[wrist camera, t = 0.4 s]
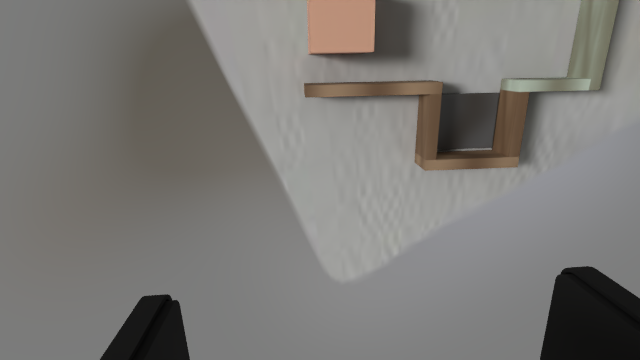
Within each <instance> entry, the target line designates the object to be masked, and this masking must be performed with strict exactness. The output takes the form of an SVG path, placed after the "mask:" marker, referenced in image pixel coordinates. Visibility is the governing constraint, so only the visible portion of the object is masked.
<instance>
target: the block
mask: <svg viewBox="0 0 640 360" xmlns="http://www.w3.org/2000/svg"><path fill="white" fill-rule="evenodd" d="M307 13H308V50H309V54H354V53H369V52H374V33H375V0H307Z"/></svg>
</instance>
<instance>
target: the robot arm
mask: <svg viewBox="0 0 640 360" xmlns="http://www.w3.org/2000/svg"><path fill="white" fill-rule="evenodd" d="M100 360H190V359H189V353H188V347H187V342H186V336H185V331H184V326H183V320H182V315H181V309H180V304H179V302H178V301H177V300H172V298H171V296H170V295H154V296H153V295H152V296H144V297H142V298H141V299H140V300H139V302H138V303H137V305H136V306H135V308H134V309H133V311H132V313H131V314H130V315H129V317H128V318H127V320H126V321H125V323H124V324H123V326H122V327H121V329H120V330H119V332H118V333H117V335H116V337H115V338H114V339H113V341H112V342H111V344H110V345H109V347H108V348H107V350H106V351H105V353H104V354H103V356H102V357H101V359H100ZM540 360H640V298H638V297H637V296H635V295H634V294H632V293H631V292H629V291H628V290H626V289H625V288H623V287H622V286H620V285H619V284H618V283H616V282H615V281H613V280H612V279H610V278H609V277H607V276H606V275H604V274H603V273H601V272H599V271H598V270H597V269H595V268H593V267H588V266H586V267H572V268H565V269H564V270H563V271H562V272H561V274H560V275H558V276H557V277H556V280H555V285H554V290H553V295H552V300H551V305H550V310H549V316H548V321H547V326H546V331H545V336H544V341H543V347H542V351H541V357H540Z"/></svg>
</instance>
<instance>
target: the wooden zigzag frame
mask: <svg viewBox="0 0 640 360" xmlns="http://www.w3.org/2000/svg"><path fill="white" fill-rule="evenodd" d="M618 3H619V0H582V1H581V6H580V11H579V16H578V22H577V27H576V32H575V37H574V42H573V48H572V53H571V58H570V63H569V69H568V74H567V77H562V78H519V79H502V82H501V89H500V97H499V93H470V94H442V86H443V82H438V81H387V82H343V83H304V93H305V97H338V96H378V95H418V94H419V105H418V120H417V135H416V150H415V163H416V164H418V165H419V166H420V167H421V168H422V169H424V170H425V171H426V170H454V169H481V168H508V167H518V161H519V155H520V148H521V142H522V136H523V130H524V124H525V117H526V111H527V105H528V99H529V93H530V92H538V91H578V90H599V89H600V84H601V80H602V75H603V71H604V66H605V62H606V57H607V53H608V48H609V44H610V39H611V35H612V30H613V25H614V21H615V16H616V12H617V7H618ZM498 98H499V104H498ZM497 105H498V111H497ZM496 112H497V119H496ZM495 120H496V126H495ZM494 127H495V133H494ZM493 135H494V141H493ZM492 142H493V148H492ZM465 148H492V150H476V151H447V152H437V149H465Z"/></svg>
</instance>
